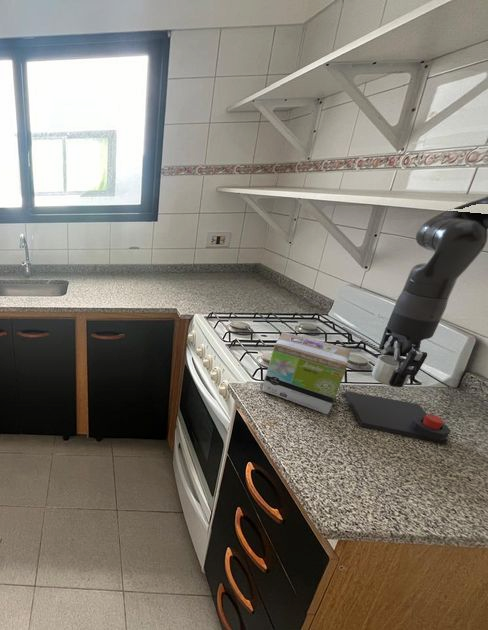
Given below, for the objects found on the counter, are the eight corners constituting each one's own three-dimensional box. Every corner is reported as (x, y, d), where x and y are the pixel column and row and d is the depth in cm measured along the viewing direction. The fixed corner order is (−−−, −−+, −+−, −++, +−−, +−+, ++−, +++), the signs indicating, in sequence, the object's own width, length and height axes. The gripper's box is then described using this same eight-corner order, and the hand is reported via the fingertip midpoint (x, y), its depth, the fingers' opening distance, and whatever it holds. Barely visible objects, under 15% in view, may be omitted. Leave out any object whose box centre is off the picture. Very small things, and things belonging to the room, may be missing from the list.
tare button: (435, 423, 77) (439, 416, 76) (442, 431, 74) (446, 424, 73) (419, 420, 78) (423, 412, 77) (425, 428, 75) (429, 420, 74)
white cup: (398, 375, 83) (406, 357, 81) (410, 390, 77) (419, 371, 75) (366, 370, 85) (373, 353, 83) (376, 384, 80) (384, 365, 78)
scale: (418, 408, 85) (423, 398, 84) (450, 447, 74) (456, 436, 72) (344, 394, 91) (347, 385, 90) (362, 428, 79) (366, 418, 78)
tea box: (260, 392, 92) (273, 343, 86) (269, 376, 99) (281, 329, 93) (329, 416, 83) (348, 363, 77) (333, 396, 90) (351, 346, 84)
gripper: (459, 329, 67) (424, 399, 74) (422, 303, 79) (395, 365, 86) (410, 323, 69) (380, 391, 76) (382, 299, 82) (358, 360, 88)
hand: (388, 377), depth 81 cm, fingers closed on white cup, 6 cm apart
